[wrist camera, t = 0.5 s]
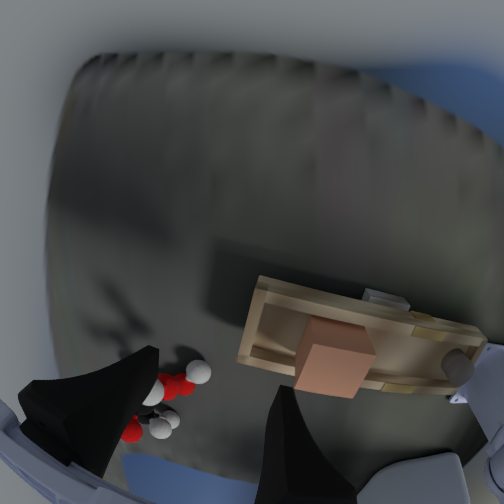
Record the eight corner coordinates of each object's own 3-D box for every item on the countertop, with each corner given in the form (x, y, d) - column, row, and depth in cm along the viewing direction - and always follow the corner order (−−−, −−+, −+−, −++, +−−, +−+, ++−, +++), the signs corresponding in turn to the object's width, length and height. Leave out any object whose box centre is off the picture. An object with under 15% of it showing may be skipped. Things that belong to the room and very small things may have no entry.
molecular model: (197, 392, 31) (169, 463, 23) (137, 364, 31) (103, 431, 23) (229, 341, 20) (182, 464, 13) (133, 296, 20) (67, 405, 13)
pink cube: (364, 325, 18) (376, 355, 14) (345, 365, 19) (352, 398, 15) (310, 313, 18) (313, 343, 15) (295, 355, 19) (294, 388, 16)
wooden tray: (470, 313, 20) (498, 341, 15) (437, 374, 22) (456, 407, 17) (263, 261, 21) (254, 287, 16) (244, 338, 23) (231, 376, 18)
